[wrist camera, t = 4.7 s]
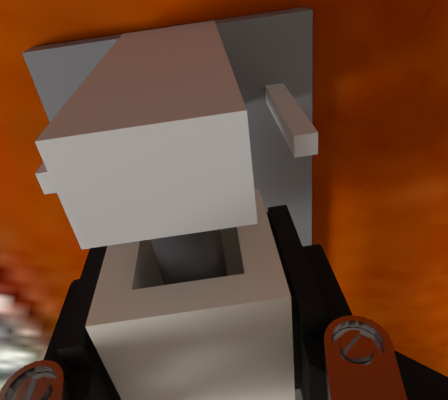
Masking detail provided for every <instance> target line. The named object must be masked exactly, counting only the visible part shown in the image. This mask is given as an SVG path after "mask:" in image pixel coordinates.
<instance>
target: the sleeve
mask: <svg viewBox="0 0 448 400" xmlns="http://www.w3.org/2000/svg"><path fill="white" fill-rule="evenodd" d="M254 191H255V202H256V212H257V223H258V224H253V225H246V226H239V227H232V228H225V229H220V232H221V238H222V244H223V250H224V256H225V263H226V269H227V275H228V276H224V277H217V278H210V279H203V280H196V281H189V282H182V283H176V284H169V285H164V284H163V280H162V277H161V273H160V270H159V267H158V263H157V260H156V257H155V253H154V250H153V247H152V243H151V240H143V241H136V242H129V243H122V244H115V245H109V246H107V250H106V253H105V257H104V260H103V264H102V268H101V271H100V275H99V278H98V282H97V285H96V289H95V293H94V296H93V300H92V303H91V307H90V311H89V314H88V318H87V321H86V325H85V328H86V330H87V332H88V334H89V336H90V338H91V340H92V342H93V344H94V346H95V348H96V350H97V352H98V354H99V356H100V358H101V360H102V362H103V364H104V366H105V368H106V370H107V372H108V374H109V376H110V378H111V380H112V382H113V384H114V386H115V388H116V390H117V392H118V394H119V396H120V398H121V400H295V384H294V358H293V332H292V306H291V295H290V291H289V288H288V285H287V281H286V278H285V274H284V271H283V268H282V264H281V261H280V257H279V254H278V251H277V247H276V244H275V240H274V237H273V234H272V230H271V227H270V223H269V220H268V217H267V213H266V210H265V206H264V203H263V200H262V196H261V193H260V190H259V189H254Z"/></svg>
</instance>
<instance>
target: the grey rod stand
mask: <svg viewBox="0 0 448 400" xmlns="http://www.w3.org/2000/svg"><path fill="white" fill-rule="evenodd" d="M22 54H23V56H24V59H25V61H26V64H27V66H28V69H29V71H30V74H31V76H32V79H33V81H34V84H35V86H36V89H37V91H38V94H39V97H40V99H41V102H42V104H43V107H44V109H45V112H46V114H47V117H48V119H49V122H50V123H49V125H48V126H47V127H46V128H45V129H44V131H43V132H42V133H41V134H40V136H39V137H38V138H37V139H36V140H35V143H36V146H37V148H38V150H39V152H40V155H41V157H42V159H43V163H42V164H41V166H40V167H39V169H38V170H37V172H36V173H35V175H36V177H37V179H38V181H39V184H40V186H41V188H42V190H43V192H44V194H50V193H56V192H57V194H58V196H59V199H60V201H61V203H62V206H63V208H64V210H65V212H66V215H67V217H68V219H69V222H70V224H71V226H72V229H73V231H74V233H75V236H76V238H77V240H78V242H79V245H80V247H81V249H88V248H95V247H102V246H109V245H115V244H122V243H129V242H136V241H143V240H151V243H152V247H153V250H154V253H155V257H156V260H157V263H158V267H159V270H160V273H161V277H162V280H163V284H164V285H169V284H176V283H182V282H189V281H196V280H203V279H210V278H217V277H224V276H228V275H227V269H226V263H225V256H224V250H223V244H222V238H221V232H220V229H225V228H232V227H239V226H246V225H253V224H258V223H257V212H256V202H255V191H254V189H259V190H260V193H261V196H262V200H263V203H264V206H265V210H266V212H268V207H273V206H280V205H287V207H288V210H289V212H290V215H291V218H292V220H293V223H294V226H295V228H296V231H297V233H298V236H299V239H300V241H301V244H302V246H309V245H312V155H316V154H318V131H317V130H316V128H315V127H314V126H313V124H312V66H313V10H312V9H310V8H308V7H300V8H293V9H287V10H280V11H273V12H266V13H260V14H253V15H246V16H239V17H233V18H226V19H219V20H212V21H206V22H199V23H192V24H185V25H179V26H172V27H165V28H158V29H152V30H145V31H138V32H131V33H125V34H118V35H111V36H104V37H98V38H91V39H84V40H77V41H71V42H64V43H57V44H50V45H44V46H37V47H31V48H29V49H28V50H26V51H24V52H23V53H22ZM295 400H303V398H302V394H301V390H300V389H296V390H295Z"/></svg>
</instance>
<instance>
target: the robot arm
mask: <svg viewBox="0 0 448 400" xmlns="http://www.w3.org/2000/svg"><path fill="white" fill-rule="evenodd" d="M266 213H267V217H268V220H269V223H270V227H271V230H272V234H273V237H274V240H275V244H276V247H277V251H278V254H279V257H280V261H281V264H282V268H283V271H284V274H285V278H286V281H287V285H288V288H289V291H290V295H291V306H292V332H293V358H294V384H295V390H296V389H300V390H301V394H302V398H303V400H448V377H446V376H444V375H442V374H440V373H438V372H436V371H434V370H432V369H430V368H428V367H426V366H424V365H422V364H420V363H418V362H416V361H414V360H412V359H410V358H408V357H406V356H405V355H403V354H401V353H399V352H397V351H395V350H394V349H393V345H392V342H391V340H390V338H389V336H388V334H387V332H386V331H385V330H384V329H383V328H382V327H381V326H380V325H378V324H377V323H375V322H374V321H372V320H370V319H367V318H365V317H361V316H354V315H352V313H351V311H350V309H349V306H348V304H347V302H346V300H345V297H344V295H343V293H342V291H341V289H340V286H339V284H338V282H337V280H336V277H335V275H334V273H333V271H332V268H331V266H330V264H329V262H328V259H327V257H326V255H325V253H324V251H323V248H322V247H321V245H320V244H315V245H309V246H302V244H301V241H300V239H299V236H298V233H297V231H296V228H295V226H294V223H293V220H292V218H291V215H290V212H289V210H288V207H287V205H280V206H273V207H268V212H266ZM106 250H107V246H102V247H95V248H90V250H89V253H88V256H87V259H86V262H85V265H84V268H83V271H82V274H81V277H80V279H78V280H74V281H73V282H72V283H71V285H70V287H69V290H68V293H67V296H66V299H65V301H64V304H63V307H62V310H61V313H60V315H59V318H58V321H57V324H56V327H55V329H54V332H53V335H52V338H51V341H50V343H49V346H48V349H47V352H46V355H45V357H44V360H41V361H36V362H33V363H31V364H28V365H26V366H24V367H23V368H21V369H20V370H18V371H17V372H15V373H14V374H13V375H12V376H11V377H10V378H9V379H8V380H7V382H6V383H5V385H4V386H3V387H2V389H1V391H0V400H121V398H120V396H119V394H118V392H117V390H116V388H115V386H114V384H113V382H112V380H111V378H110V376H109V374H108V372H107V370H106V368H105V366H104V364H103V362H102V360H101V358H100V356H99V354H98V352H97V350H96V348H95V346H94V344H93V342H92V340H91V338H90V336H89V334H88V332H87V330H86V328H85V325H86V321H87V318H88V314H89V311H90V307H91V303H92V300H93V296H94V293H95V289H96V285H97V282H98V278H99V275H100V271H101V268H102V264H103V260H104V257H105V253H106Z"/></svg>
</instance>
